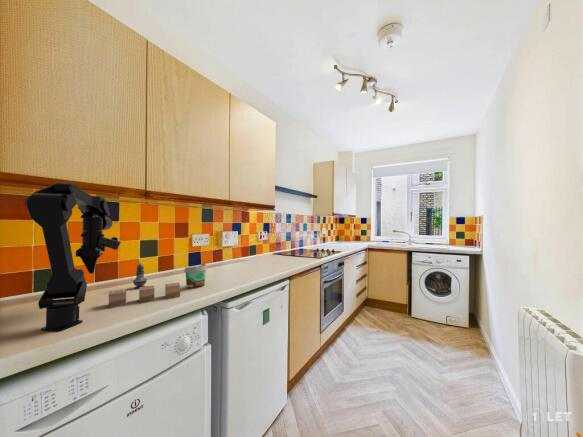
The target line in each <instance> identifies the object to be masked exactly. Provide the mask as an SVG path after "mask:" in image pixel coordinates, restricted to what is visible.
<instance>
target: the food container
mask: <svg viewBox="0 0 583 437" xmlns="http://www.w3.org/2000/svg"><path fill="white" fill-rule="evenodd" d="M207 270H208V266H207V264H205V263H201V265H198V266H197V265H196V266H195V265H194V266H192V267H190V266H189V267H184V273H185V282H186V283H185V284H186V286H185V287H186V289H191V290H193V289H199V288H204V287H205V282H206V271H207Z"/></svg>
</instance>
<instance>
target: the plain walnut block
mask: <svg viewBox="0 0 583 437" xmlns="http://www.w3.org/2000/svg"><path fill="white" fill-rule="evenodd" d="M145 286H146V285H145ZM138 290H139V292H138V293H139V294H138V300H139V301H138V304H142V303H150V302H155V286H154V285H149V286H148V285H147V286H146V287H139V289H138Z"/></svg>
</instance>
